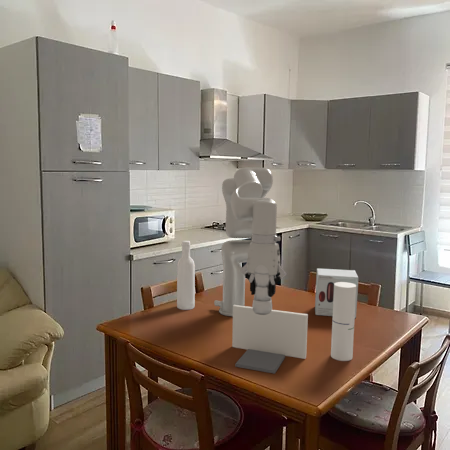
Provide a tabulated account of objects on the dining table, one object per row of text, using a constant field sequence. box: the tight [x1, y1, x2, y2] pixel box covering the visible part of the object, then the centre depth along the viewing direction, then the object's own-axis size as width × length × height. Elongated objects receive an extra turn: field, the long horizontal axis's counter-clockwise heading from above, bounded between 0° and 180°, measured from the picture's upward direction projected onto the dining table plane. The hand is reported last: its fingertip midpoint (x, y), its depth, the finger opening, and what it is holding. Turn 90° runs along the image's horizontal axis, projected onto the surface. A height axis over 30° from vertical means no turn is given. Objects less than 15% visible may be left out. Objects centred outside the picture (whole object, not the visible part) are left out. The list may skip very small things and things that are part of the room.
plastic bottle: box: [251, 265, 273, 315], centre depth 151 cm, size 6×7×20 cm
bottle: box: [176, 240, 196, 311], centre depth 210 cm, size 8×8×30 cm
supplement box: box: [314, 267, 359, 319], centre depth 207 cm, size 17×13×18 cm
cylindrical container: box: [330, 282, 356, 362], centre depth 158 cm, size 7×7×25 cm
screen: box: [231, 305, 309, 360], centre depth 162 cm, size 26×2×15 cm, turn 69°
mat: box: [234, 349, 286, 374], centre depth 155 cm, size 13×13×1 cm
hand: (262, 294), depth 152 cm, fingers closed on plastic bottle, 5 cm apart
